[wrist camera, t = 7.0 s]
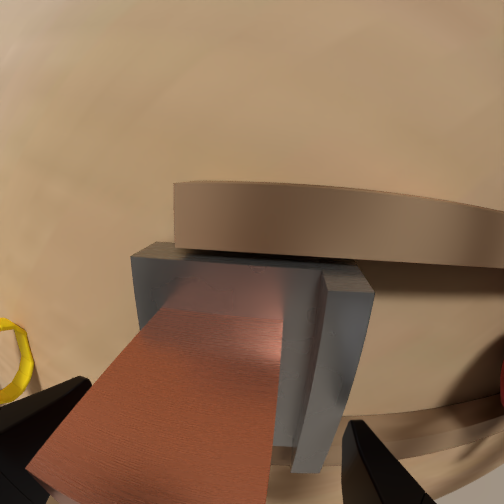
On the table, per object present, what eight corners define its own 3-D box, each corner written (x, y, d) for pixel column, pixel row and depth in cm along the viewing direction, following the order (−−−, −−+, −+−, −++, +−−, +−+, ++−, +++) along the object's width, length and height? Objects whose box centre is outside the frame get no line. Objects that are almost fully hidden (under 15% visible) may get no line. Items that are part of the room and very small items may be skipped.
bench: (578, 231, 8) (640, 259, 2) (514, 405, 11) (546, 456, 5) (194, 181, 10) (90, 196, 4) (207, 428, 14) (178, 514, 8)
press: (348, 253, 10) (476, 493, 1) (316, 417, 12) (316, 584, 4) (156, 241, 11) (-49, 376, 2) (175, 400, 13) (104, 544, 4)
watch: (9, 302, 14) (-50, 333, 8) (31, 316, 14) (-31, 353, 8) (22, 369, 16) (-23, 404, 10) (45, 384, 15) (-2, 425, 10)
